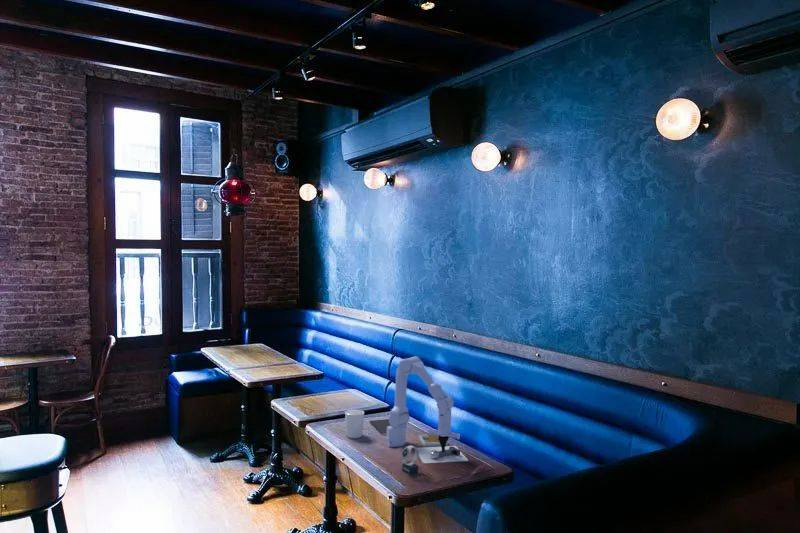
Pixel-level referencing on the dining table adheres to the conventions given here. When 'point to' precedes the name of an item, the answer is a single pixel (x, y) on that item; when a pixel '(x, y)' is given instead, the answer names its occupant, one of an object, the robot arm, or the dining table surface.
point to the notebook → (381, 425)
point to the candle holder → (354, 423)
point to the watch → (409, 466)
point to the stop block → (433, 438)
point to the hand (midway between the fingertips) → (443, 451)
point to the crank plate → (425, 457)
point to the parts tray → (429, 442)
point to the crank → (444, 452)
